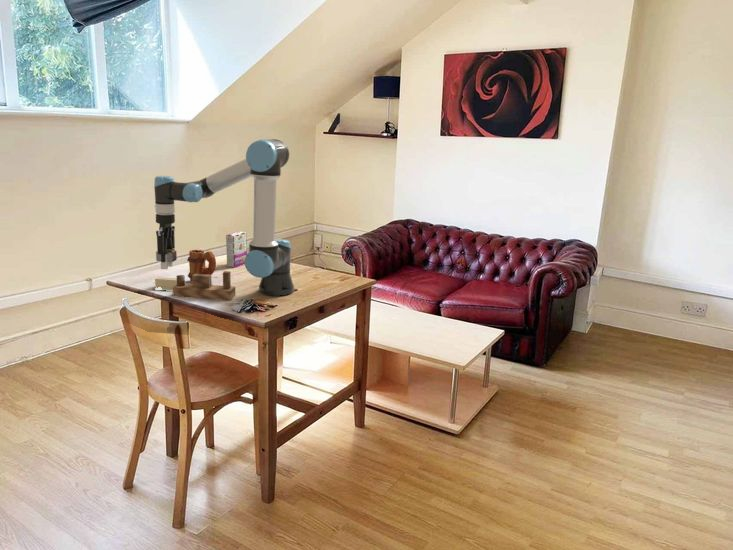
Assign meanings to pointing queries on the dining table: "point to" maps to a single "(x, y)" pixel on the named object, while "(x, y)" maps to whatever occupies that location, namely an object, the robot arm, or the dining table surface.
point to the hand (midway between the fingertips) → (166, 267)
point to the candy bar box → (236, 249)
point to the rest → (166, 283)
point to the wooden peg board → (204, 287)
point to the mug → (201, 263)
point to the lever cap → (168, 255)
